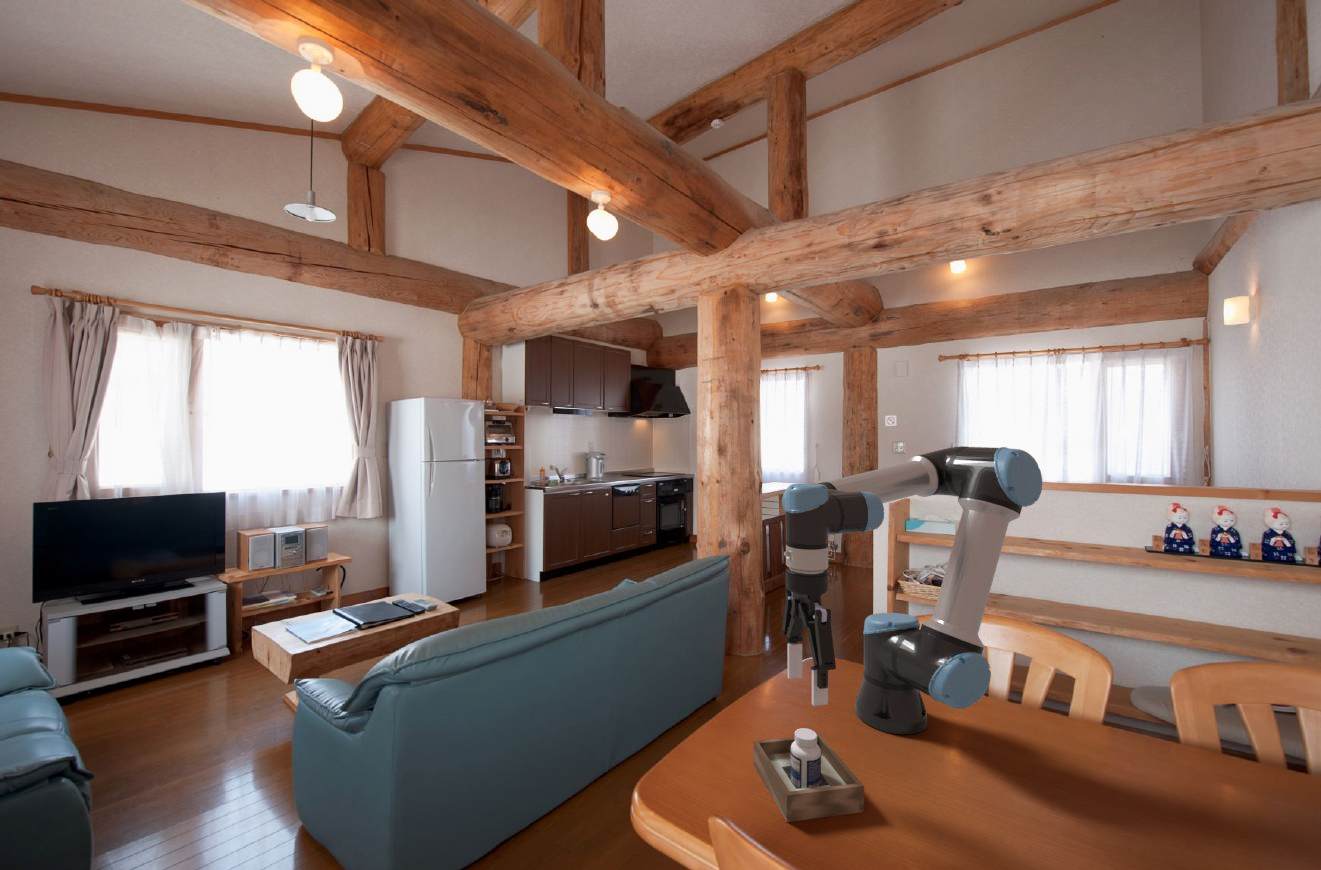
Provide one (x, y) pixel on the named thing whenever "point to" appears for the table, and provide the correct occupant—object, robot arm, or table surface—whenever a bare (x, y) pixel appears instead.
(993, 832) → the table surface
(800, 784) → the pill bottle
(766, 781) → the box
